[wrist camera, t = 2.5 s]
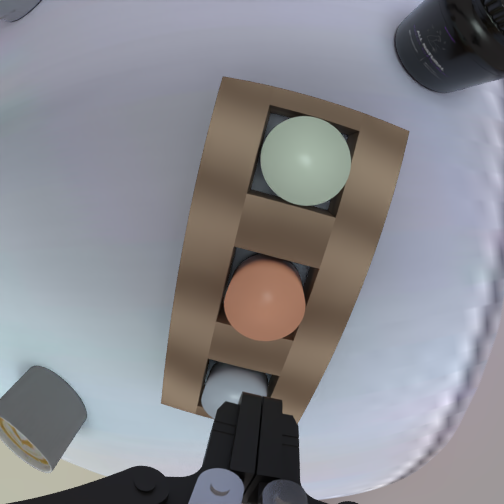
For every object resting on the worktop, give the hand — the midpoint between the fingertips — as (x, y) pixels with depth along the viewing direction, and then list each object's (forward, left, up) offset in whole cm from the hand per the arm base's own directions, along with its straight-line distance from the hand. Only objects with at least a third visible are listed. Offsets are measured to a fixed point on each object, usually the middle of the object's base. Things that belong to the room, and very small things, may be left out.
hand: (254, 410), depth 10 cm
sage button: (-9, 0, -12) cm, 15 cm away
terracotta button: (0, 0, -12) cm, 12 cm away
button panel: (0, 0, -13) cm, 13 cm away
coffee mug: (+25, -23, -13) cm, 37 cm away
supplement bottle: (-21, +8, -13) cm, 26 cm away
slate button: (+9, 0, -12) cm, 15 cm away
